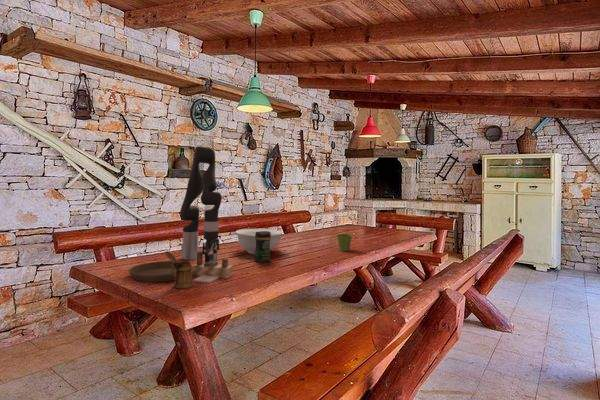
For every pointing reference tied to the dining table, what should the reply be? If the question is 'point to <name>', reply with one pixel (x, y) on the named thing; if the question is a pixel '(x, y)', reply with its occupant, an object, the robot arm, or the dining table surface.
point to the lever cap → (212, 258)
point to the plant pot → (344, 241)
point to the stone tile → (206, 279)
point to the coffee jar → (262, 246)
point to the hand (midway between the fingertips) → (210, 260)
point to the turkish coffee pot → (181, 273)
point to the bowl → (249, 241)
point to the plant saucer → (153, 271)
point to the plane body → (212, 268)
